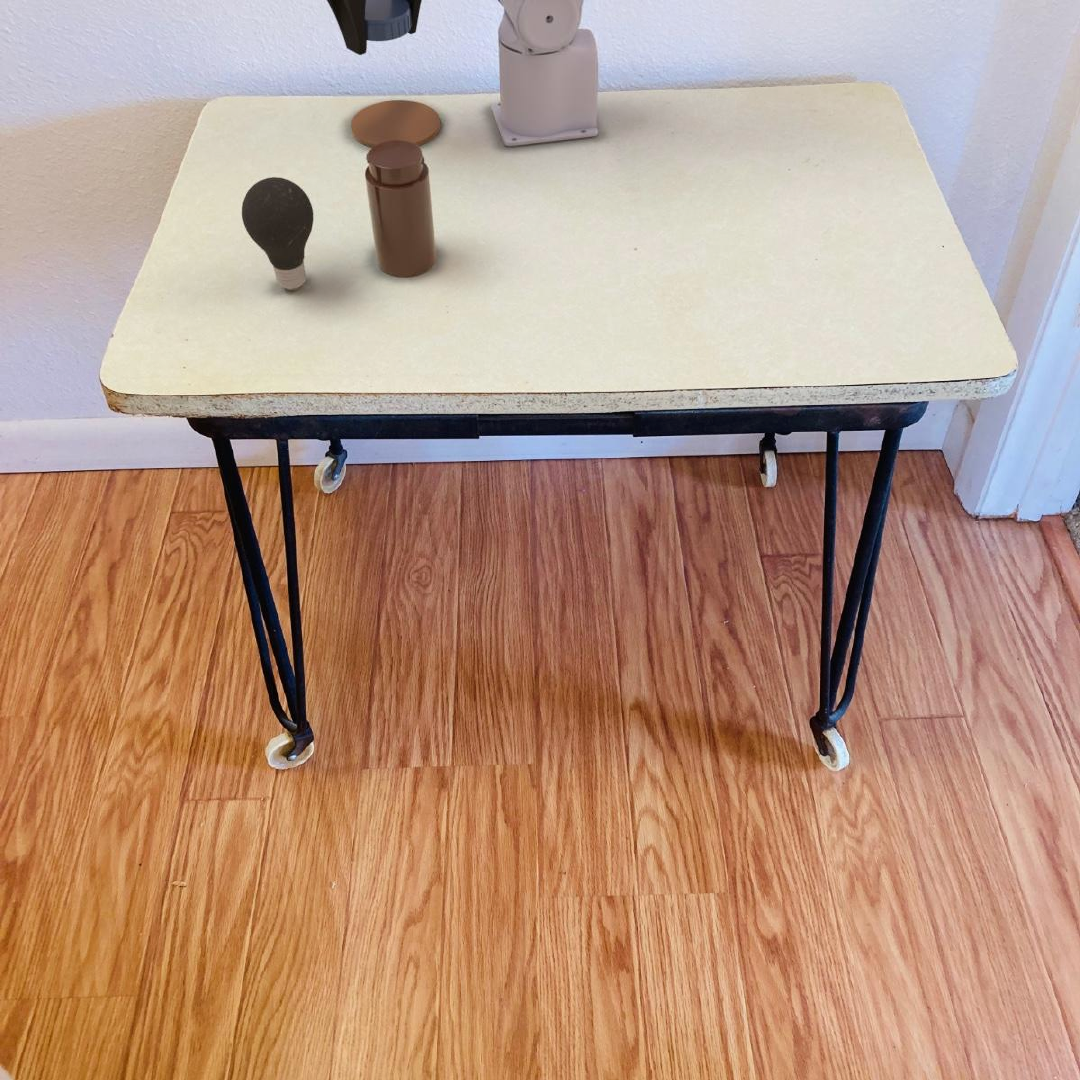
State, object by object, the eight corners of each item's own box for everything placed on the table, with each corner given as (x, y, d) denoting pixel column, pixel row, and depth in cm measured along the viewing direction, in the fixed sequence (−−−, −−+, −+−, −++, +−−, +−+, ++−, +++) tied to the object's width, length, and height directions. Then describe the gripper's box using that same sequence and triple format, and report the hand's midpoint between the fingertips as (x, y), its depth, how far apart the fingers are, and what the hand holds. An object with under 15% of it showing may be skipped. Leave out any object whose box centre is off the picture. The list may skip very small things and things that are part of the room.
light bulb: (333, 269, 94) (314, 164, 87) (318, 309, 91) (297, 204, 83) (269, 265, 95) (245, 161, 87) (252, 305, 91) (225, 200, 83)
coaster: (433, 100, 113) (433, 95, 113) (447, 144, 108) (446, 140, 107) (347, 109, 112) (346, 105, 112) (356, 155, 106) (355, 150, 106)
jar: (429, 238, 97) (419, 133, 90) (442, 271, 94) (433, 165, 86) (372, 247, 96) (357, 142, 89) (382, 281, 93) (368, 175, 86)
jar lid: (341, 19, 100) (338, -2, 98) (400, 9, 101) (398, -12, 100) (359, 46, 96) (356, 25, 95) (419, 35, 98) (418, 14, 97)
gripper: (326, -89, 84) (346, 81, 95) (463, -134, 91) (468, 29, 101) (271, -113, 87) (297, 54, 98) (408, -155, 94) (418, 5, 105)
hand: (381, 40), depth 100 cm, fingers closed on jar lid, 5 cm apart
